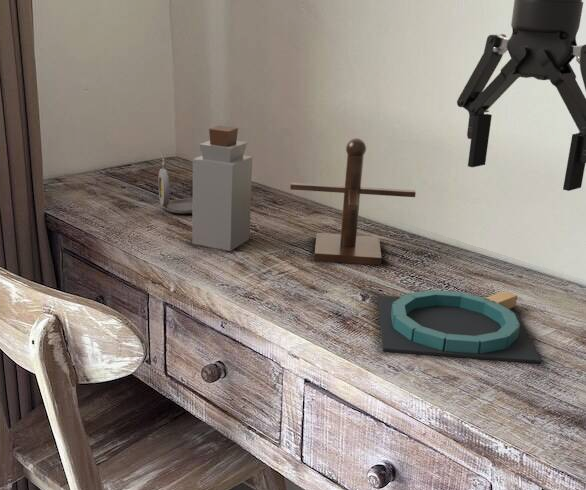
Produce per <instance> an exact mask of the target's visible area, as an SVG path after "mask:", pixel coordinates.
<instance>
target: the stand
mask: <svg viewBox="0 0 586 490" xmlns="http://www.w3.org/2000/svg"><path fill="white" fill-rule="evenodd" d="M345 151H346V167H345V178H344V179H345V180H344V185H335V184H321V183H320V184H319V183H306V182H305V183H303V182H302V183H301V182H290V188H289V189H290V190H292V191H293V190H294V191H306V192H307V191H308V192H322V193H323V192H324V193H325V192H326V193H340V194H341V193H342V194H343V205H342V216H341V227H340V229H341V231H340V233H328V232H326V233H325V232H316V236H315V238H316V239H315V245H314V258H313V261H314V262H328V263H329V262H330V263H341V264H343V263H344V264H354V265H355V264H356V265H357V264H358V265H371V266H381V265H382V259H383V258H382V251H381V243H380V237H379V236H372V235H358V224H359V211H360V200H361V195H370V196H371V195H372V196H387V197H403V198H404V197H406V198H416V195H417V194H416V190H414V189H398V188H384V187H383V188H381V187H367V186H362V177H363V165H364V157H365V156H364V155H365V153H366V151H367V144H366V143H365V141H364V140H363V139H362V138H359V137H353V138H351V139H349V140H348V142H346V145H345Z"/></svg>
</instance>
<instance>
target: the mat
mask: <svg viewBox="0 0 586 490" xmlns="http://www.w3.org/2000/svg"><path fill="white" fill-rule="evenodd" d="M399 298H401V297H399V296H385V295H384V296H383V295H377V307H378V317H379V326H380V334H381V336H380V337H381V346H382V352H390V353H401V354H415V355H426V356H439V357H451V358H466V359H475V360H489V361H490V360H491V361H504V362H516V363H528V364H529V363H530V364H541V359H540V356H539V354H538V352H537V350H536V348H535V346H534V344H533V342H532V340H531V338H530V336H529V334H528V332H527V330H526V327H525V326H524V324H523V322H522V320H521V318H520V316H519V313H518V312H517V310H516V306H515V307H513V308H510V309H509V310H511V311H512V312H514V314H515V316H516V318H517V320H518V322H519V324H520V328H519V334H518V338H517V339H516V340H515V341H514V342H513V343H512V344H511V345H510V346H509V347H508V348H506V349H502V350H497V351H492V352H487V353H482V354H479V353H478V354H473V353H460V352H447V351H445V350H443V351H441V350H438V349H435V348H432V347H428V346H425V345H422V344H419V343H416V342H413V341H411V340H409V339H408V338H406V337H405V336H404V335H402V334H401V333H400V332H398V331H397V330H395V329H394V327H393V325H392V318H391V310H392V304H393V302H395V301H396V300H398V299H399ZM406 315H407V316H408V317H409V318H411V319H412V320H414V321H415V322H417V323H418V324H419V325H421V326H423V327H426V328H429V329H433V330H436V331H439V332H443V333H446V334H456V335H469V336H477V335H483V334H488V333H493V332H497V331H498V330H500V329H501V326H500V323H498V322H496V321H495V320H493V319H491V318H489V317H488V316H486V315H484V314H482V313H478V312H475V311H471V310H467V309H464V308H460V307H449V306H429V307H423V308H417V309H413V310H412V311H411V312H409V313H408V314H406Z"/></svg>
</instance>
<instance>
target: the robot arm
mask: <svg viewBox="0 0 586 490" xmlns="http://www.w3.org/2000/svg"><path fill="white" fill-rule="evenodd" d="M583 8H584V1H583V0H514V1H513V8H512V16H511V22H510V25H511V29H512V33H511V35H510V37H507V35H506V34H505V33H501V34H500V33H499V34H498V33H497V34H489V35H488V36H487V38H486V42H485V46H484V50H483V54H482V55H481V56H480V59H479V60H478V63H477V64H476V66H475V68H474V69H473V71H472V73H471V75H470V76H469V79H468V80H467V82H466V84H465V86H464V87H463V89H462V91H461V93H460V94H459V96H458V98H457V100H456V105H457V107H459V108H463V109H465V110H466V111H467V112H468V115H469V116H468V124H467V131H466V136H467V139H468V140H470V145H469V152H468V160H467V161H468V162H467V167H468V168H476V167H481V166H485V165H486V162H487V161H486V160H487V153H488V147H489V140H490V139H489V138H490V132H491V131H490V130H491V124H492V117H493V115H492V114H490V113H489V112H490V110H489V109H490V108H491V107H492V106H493V105H494V104H495V103H496V102H497V101H498V100H499V99H500V97H502V95H504V93H506V92H507V91H508V89H509V88H510V87H511V86H512V85H513V84H514V83H515V82H516V81H517V80H518V79H519V78H526V79H528V78H529V79H530V78H533V79H536V80H538V81H539V80H540V81H550V83H551V85H552V86H553V87H555V88H556V91H557V92H558V93H559V96H560V97H561V100H562V101H563V103H564V105H565V107H566V109H567V110H568V112H569V114H570V116H571V118H572V120H573V123H574V124H575V126H576V128H577V130H578V131H579V132H576V133H573V134H571V139H570V140H571V141H570V146H569V152H568V158H567V163H566V169H565V175H564V181H563V186H562V188H563V189H562V190H563V191H567V192H570V191H573V190H578V189H581V188H582V184H583V179H584V174H585V168H586V96H585V95H584V92H583V91H582V89H581V87H580V86H579V83H578V81H577V75H576V73H575V72H574V69H573V68H572V66H571V64H570V63H571V62H572V61H573V60H574V59H575V58H576V59H575V61H576V62H577V63H578V64H579V69H580V74H581V78H582V82H583V86H584V90H585V91H586V44H582V45H580V44H579V45H578V43H577V34H578V32H579V29H580V25H581V20H582V13H583ZM507 52H508V54H509V56H510V59H509V60H507V62H506V63H505V64H504V65H503V66H502V68H500V72H499V73H498V74H497V75H496V76H495V77H494V79H493V80H492V81H490V79H491V78H492V76H493V74H494V72H495V71H496V69H497V67H498V65H499V64H500V62H501V60H502V58H503V56H504V54H506V53H507ZM489 81H490V83H489ZM488 83H489V84H488Z"/></svg>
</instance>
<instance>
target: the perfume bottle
mask: <svg viewBox="0 0 586 490" xmlns="http://www.w3.org/2000/svg"><path fill="white" fill-rule="evenodd" d="M238 132H239V128H238V127H233V126H232V127H231V126H226V125H216V126H214V127H210V128H208V134H209V140H207V141H204V142H201V143H199V144H198V145H199V148H200V152H201V155H199V156H197V157H194V158H192V200H193V204H192V213H191V214H192V216H191V217H192V218H191V219H192V221H191V223H192V224H191V241H192V242H191V244H193V245H198V246H202V247H208V248H213V249H218V250H223V251H228V252H231V251H233V250H235V249H236V248H237V247H239V246H241V245H243V244H244V243H246V242H247V241H249V240H250V238H251V237H250V234H251V209H252V180H253V179H252V178H253V156H251V155H246V154H245V150H246V148H247V144H248V142H247V141H242V140H241V141H240V140H238Z"/></svg>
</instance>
